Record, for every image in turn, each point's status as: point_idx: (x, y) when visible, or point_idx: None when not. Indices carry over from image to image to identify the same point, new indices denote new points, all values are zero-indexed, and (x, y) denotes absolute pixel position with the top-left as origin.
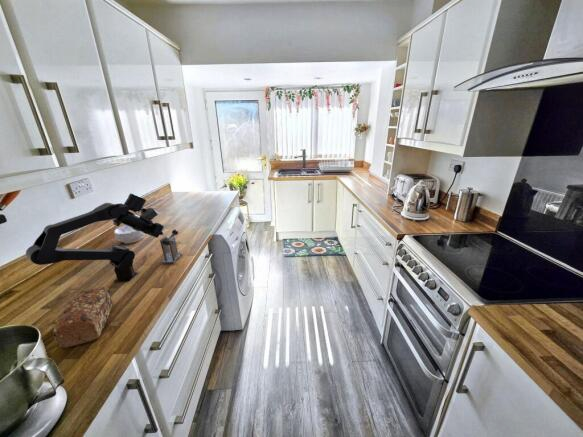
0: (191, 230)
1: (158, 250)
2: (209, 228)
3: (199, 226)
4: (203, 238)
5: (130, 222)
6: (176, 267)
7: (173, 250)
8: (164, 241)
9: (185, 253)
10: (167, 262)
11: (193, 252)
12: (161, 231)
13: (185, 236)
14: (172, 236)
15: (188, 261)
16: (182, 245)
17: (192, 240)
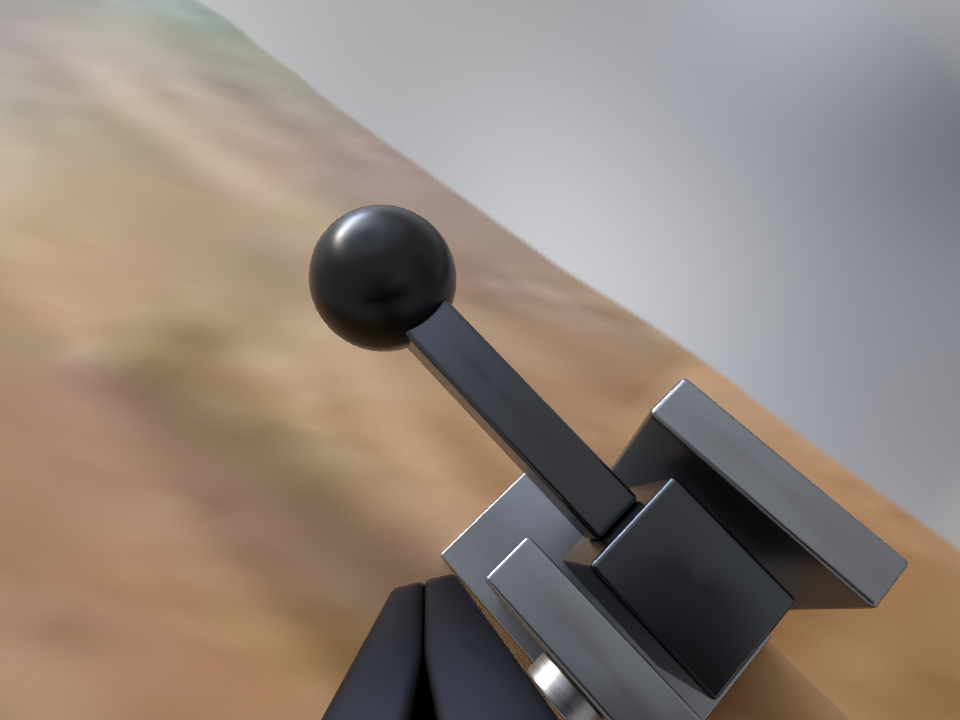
0: (18, 134)
1: (140, 643)
2: (169, 10)
3: (15, 50)
4: (342, 127)
5: None
6: (880, 644)
7: None
8: (726, 684)
9: (552, 401)
10: (712, 710)
11: (601, 324)
12: (510, 654)
13: (96, 232)
14: (542, 402)
15: (804, 457)
16: (300, 344)
17: (279, 218)
